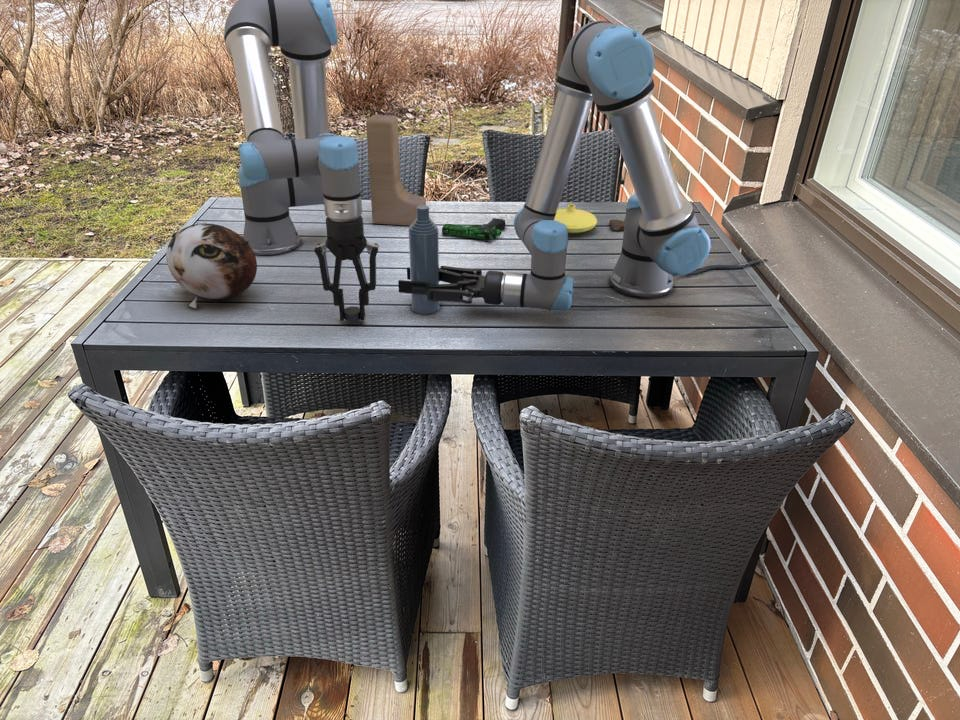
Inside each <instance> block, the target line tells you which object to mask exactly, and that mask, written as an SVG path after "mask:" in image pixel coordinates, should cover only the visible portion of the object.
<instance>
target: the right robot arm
mask: <svg viewBox="0 0 960 720" xmlns="http://www.w3.org/2000/svg"><path fill="white" fill-rule="evenodd" d="M654 71H655V55H654V50H653V48H652V47H651V44H650V42H649V41H648V40H647V38H646V37H645V36H643V35H642V34H641V33H640V32H638V31H637V30H635V29H634V28H631V27H629V26H625V25H624V26H623V25H618V24H615V23H612V22H609V21H606V20H594V21H591V22H588V23H586V24H584V25H583V26H581V27H580V28H579V29H577V31H576V32H575V33H574V34H573V36H572V37H571V39H570V40H569V41H568V44H567V47H566V50H565V52H564V55H563V58H562V61H561V64H560V68H559V71H558V74H557V78H556V81H555V85H556V87H557V89H558V90H557V95H556V98H555V102H554V105H553V108H552V111H551V114H550V117H549V121H548V124H547V128H546V130H545V131H546V132H545V134H544V138H543V141H542V145H541V147H540V152H539V155H538V157H537V161H536V164H535V167H534V171H533V175H532V179H531V182H530V184H529V188H528V192H527V195H526V198H525V202H524V205H523V207H522V208H521V209H520V210H519V211H518V212H517V213H516V214H515V216H514V217H513V228H514V231H515V234H516V236H517V237H518V239H519V240H520V241H521V242H522V243H523V245H524V247H525V248H526V249H527V251H528V253H529V254H530V273H524V272H514V271H506V272H505V273H504V272H503V271H501V270H487V271H486V273H485V275H483V271H482V269H480V268H477V269H476V268H475V269H474V268H473V269H471V268H463V267H456V266H448V265H439V282H442V283H439V284H434V285H429V282H416V281H411V277H410V266H409V267H407V268H406V280H403V279H399V280H398V281H397V286H398V293H401V294H410V295H411V294H421V295H427V298H428V300H429V301H440V302H445V303H447V302H448V303H462V304H466V305H471V304H472V302H473V299H477V298H478V299H479V298H482V299H483V302H484V303H485V305H493V306H500V305H501V304H502V305H503V306H508V307H513V308H515V309H517V308H528V309H538V310H547V311H549V312H550V311H557V312H558V311H560V312H561V311H568V310H570V308H572V307H571V306H572V302H573V293H574V278H572V277H569V276H567V275H566V266H567V265H566V264H567V263H566V262H567V253H568V245H569V233H568V228H567V226H566V225H565V224H563V223H560V222H559V221H554V219H555V215H556V212H557V209H559V205H560V202H561V200H562V196H563V193H564V190H565V187H566V184H567V181H568V178H569V175H570V172H571V169H572V165H573V163H574V159H575V157H576V153H577V150H578V148H579V144H580V141H581V139H582V135H583V132H584V129H585V126H586V124H587V120H588V117H589V114H590V112H591V108H592V104H593V103H594V105H595V107H596V110H597V111H598V112H599V113H601V114H603V115H606V116H607V117H608V119H609V122H610V126H611V128H612V131H613V134H614V137H615V140H616V142H617V145H618V148H619V150H620V153H621V156H622V159H623V162H624V164H625V167H626V170H627V172H628V176H629V179H630V182H631V184H632V187H633V189H634V192H635V193H633V194H632V195H630V196H629V197H628V200H627V203H626V207H625V217H624V219H625V221H624V222H625V225H624V230H623V234H622V235H623V236H622V244H621V251H620V255H619V257H618V259H617V262H616V264H615V265H614V268H613V270H612V272H611V274H610V282H609V283H610V286H611V288H613V289H614V290H615V291H617V292H619V293H620V294H624V295H626V296H630V297H633V298H634V297H635V298H641V299H656V298H660V297H664V296H667V295H669V294H671V292H672V291H673V288H674V283H675V282H674V277H680V276H693V275H698V274H701V273H703V272H706V271H708V270H719V269H721V270H734V269H740V268H741V269H742V268H746V267H748V266H752V265H755V264H758V263H759V262H760V261H757V258H755V259H753V260H749V261H746V262H747V263H748V264H745V265H741V266H738V263H737V264H711V265H706V266H703V267H701V266H702V265H703V264H704V262H705V260H706V259H707V257H709V254H710V251H711V245H712V244H711V243H712V242H711V239H710V236H709V234H708V233H707V231H706V230H705V229H704V228H702V227H700V225H699V223H698V219H697V215H696V213H695V210H694V207H693V204H692V203H691V201H689V200H688V199H687V200H686V199H684V198H683V197H682V193H681V191H680V187H679V185H678V181H677V178H676V175H675V172H674V169H673V166H672V163H671V158H670V156H669V153H668V150H667V146H666V143H665V140H664V137H663V134H662V131H661V128H660V124H659V122H658V119H657V115H656V112H655V108H654V105H653V103H652V100H651V96H652V94H653V93H654V91H655V88H656V85H655V81H654V78H653V73H654Z"/></svg>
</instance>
